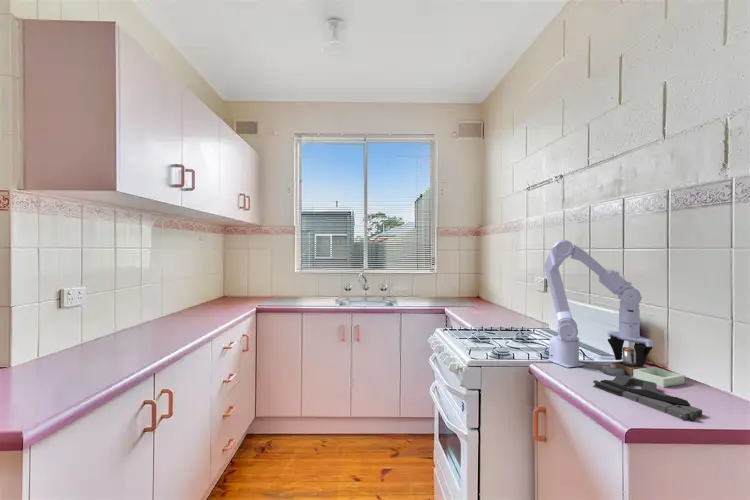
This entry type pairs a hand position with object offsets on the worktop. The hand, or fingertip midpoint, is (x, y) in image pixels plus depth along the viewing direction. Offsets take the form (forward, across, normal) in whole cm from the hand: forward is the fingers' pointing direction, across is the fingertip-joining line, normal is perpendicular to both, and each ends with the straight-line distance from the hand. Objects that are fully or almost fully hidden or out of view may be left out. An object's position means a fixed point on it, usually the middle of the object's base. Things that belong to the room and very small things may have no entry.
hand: (629, 363), depth 127 cm
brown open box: (+3, 0, +3) cm, 4 cm away
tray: (+3, -10, 0) cm, 10 cm away
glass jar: (+3, 0, 0) cm, 3 cm away
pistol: (+3, -18, +15) cm, 24 cm away
